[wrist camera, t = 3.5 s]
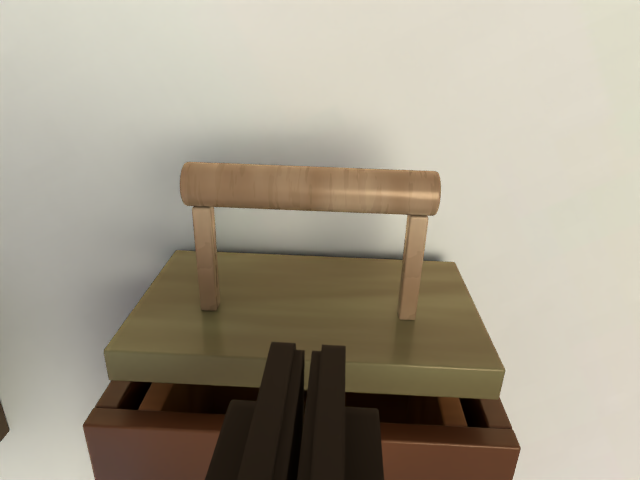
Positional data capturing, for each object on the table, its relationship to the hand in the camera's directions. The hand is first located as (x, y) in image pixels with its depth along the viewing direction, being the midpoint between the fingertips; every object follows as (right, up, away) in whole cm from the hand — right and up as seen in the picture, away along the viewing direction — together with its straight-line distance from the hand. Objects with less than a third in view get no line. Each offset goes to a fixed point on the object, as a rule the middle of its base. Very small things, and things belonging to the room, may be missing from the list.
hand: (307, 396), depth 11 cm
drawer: (0, -3, +13) cm, 13 cm away
